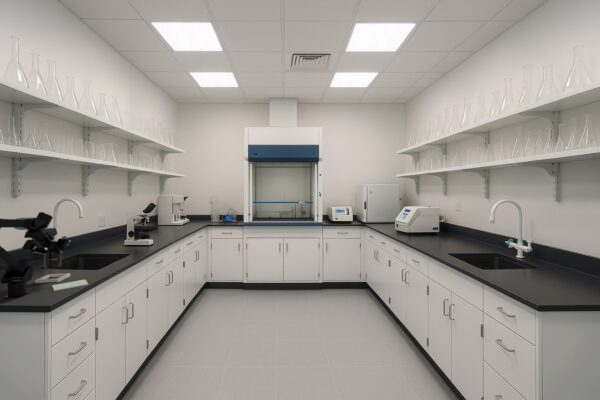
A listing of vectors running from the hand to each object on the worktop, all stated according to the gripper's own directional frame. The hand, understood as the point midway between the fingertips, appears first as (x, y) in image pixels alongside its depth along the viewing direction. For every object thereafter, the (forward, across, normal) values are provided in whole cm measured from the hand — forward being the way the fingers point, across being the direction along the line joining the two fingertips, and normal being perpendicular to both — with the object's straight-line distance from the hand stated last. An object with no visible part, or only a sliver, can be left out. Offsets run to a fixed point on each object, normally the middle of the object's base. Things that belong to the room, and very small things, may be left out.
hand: (54, 253), depth 153 cm
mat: (0, -15, +20) cm, 25 cm away
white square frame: (+9, 0, +10) cm, 13 cm away
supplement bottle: (+4, 0, +6) cm, 7 cm away
